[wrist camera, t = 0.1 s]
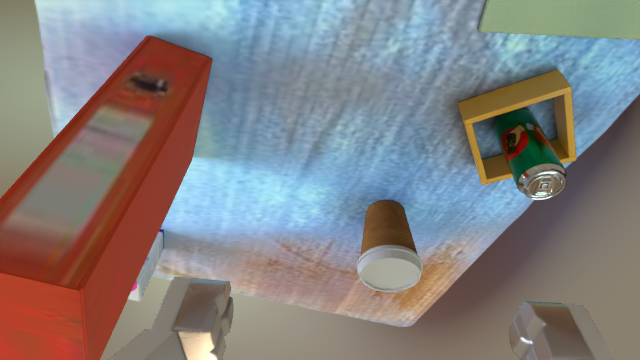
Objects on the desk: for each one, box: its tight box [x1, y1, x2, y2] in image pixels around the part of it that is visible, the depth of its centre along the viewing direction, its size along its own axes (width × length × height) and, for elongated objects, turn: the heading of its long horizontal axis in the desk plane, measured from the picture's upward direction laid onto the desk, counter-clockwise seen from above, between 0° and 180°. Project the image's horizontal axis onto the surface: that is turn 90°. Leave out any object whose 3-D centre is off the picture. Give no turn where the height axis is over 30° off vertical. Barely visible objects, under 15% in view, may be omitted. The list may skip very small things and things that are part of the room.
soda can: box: [493, 109, 566, 200], centre depth 48 cm, size 5×5×12 cm
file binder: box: [0, 36, 212, 360], centre depth 42 cm, size 8×17×32 cm, turn 159°
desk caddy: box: [458, 69, 576, 185], centre depth 51 cm, size 12×12×4 cm
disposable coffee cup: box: [357, 200, 423, 292], centre depth 62 cm, size 10×10×12 cm
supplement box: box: [128, 230, 164, 301], centre depth 70 cm, size 6×6×12 cm
